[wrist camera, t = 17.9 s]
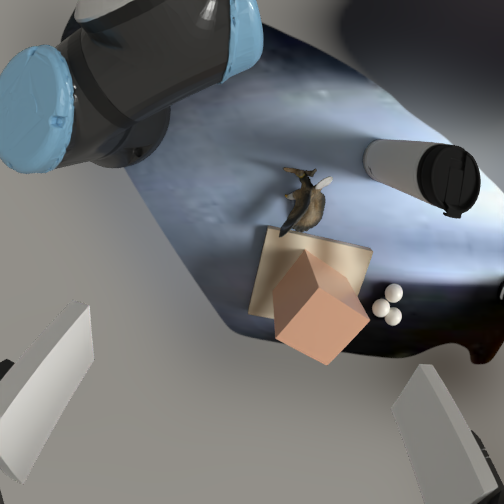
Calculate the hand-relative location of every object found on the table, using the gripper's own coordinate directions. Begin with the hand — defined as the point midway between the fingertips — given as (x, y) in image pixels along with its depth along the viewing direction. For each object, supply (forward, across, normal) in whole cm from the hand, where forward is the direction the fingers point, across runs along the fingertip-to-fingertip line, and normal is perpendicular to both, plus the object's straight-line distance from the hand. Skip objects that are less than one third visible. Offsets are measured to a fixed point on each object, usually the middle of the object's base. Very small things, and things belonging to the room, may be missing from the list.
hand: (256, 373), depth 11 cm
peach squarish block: (+33, +10, -11) cm, 36 cm away
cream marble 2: (+34, +24, -10) cm, 43 cm away
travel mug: (+35, +16, +9) cm, 39 cm away
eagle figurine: (+35, +6, +1) cm, 35 cm away
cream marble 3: (+34, +26, -14) cm, 45 cm away
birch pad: (+34, +10, -11) cm, 37 cm away
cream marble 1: (+34, +23, -13) cm, 43 cm away
